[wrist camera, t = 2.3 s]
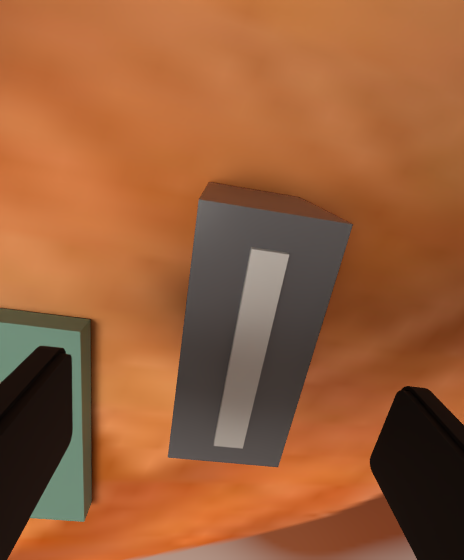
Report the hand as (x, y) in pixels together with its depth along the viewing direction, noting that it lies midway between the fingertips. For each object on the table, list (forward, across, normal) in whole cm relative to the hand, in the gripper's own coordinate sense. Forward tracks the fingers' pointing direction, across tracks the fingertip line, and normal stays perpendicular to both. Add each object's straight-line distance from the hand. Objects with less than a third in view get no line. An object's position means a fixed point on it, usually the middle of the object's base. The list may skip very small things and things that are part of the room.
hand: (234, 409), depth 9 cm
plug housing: (+7, 0, -1) cm, 7 cm away
